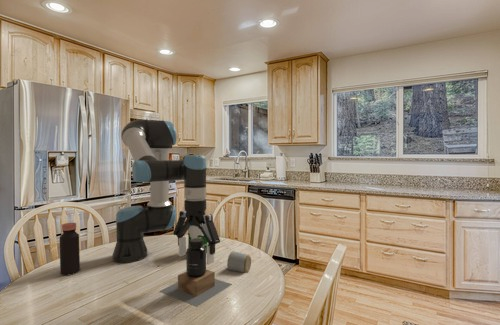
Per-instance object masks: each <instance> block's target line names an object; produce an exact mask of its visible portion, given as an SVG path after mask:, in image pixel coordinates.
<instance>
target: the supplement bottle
mask: <svg viewBox="0 0 500 325" xmlns="http://www.w3.org/2000/svg"><path fill="white" fill-rule="evenodd" d="M189 246H190V247H189V248H186V254H185V256H186V262H185V263H186V264H185V265H186V266H185V267H186V271H185V272H186V273H187V275H188V276H190V277H201V276H203V275H204V274H205V273H206V270H207V253H206V248H205V247H204V246H203V239H201V238H194V239H190V241H189Z"/></svg>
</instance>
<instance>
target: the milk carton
mask: <svg viewBox="0 0 500 325" xmlns="http://www.w3.org/2000/svg"><path fill="white" fill-rule="evenodd" d="M202 224H203V223H202ZM187 232H188V242H187V243H188V246H187V247H188V248H189V247H190V246H189V241H190V239H194V238H201V239H203V246H204V247H205V248H206V254H207V245H208V242H207V240H206V238H205V237H204V235H203V233H202V231H201V230H200V229H199V228H198V226H197V227H196V226H194V225H193V226H190V227H189V229H188V230H187ZM188 248H187V249H188Z"/></svg>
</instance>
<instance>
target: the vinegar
mask: <svg viewBox="0 0 500 325" xmlns="http://www.w3.org/2000/svg"><path fill="white" fill-rule="evenodd" d="M61 231H62V234H61V235H60V236H59V265H60V266H59V267H60V271H59V272H60V275H61V274H63V275H62V276H69V275H68V274H72V275H74V274H73V273H75V274H77V273H79V272H80V270H81V261H80V260H81V259H80V235H79V233H78V232H77V222H66V223H63V224H61ZM78 271H79V272H78ZM76 272H77V273H76Z"/></svg>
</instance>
